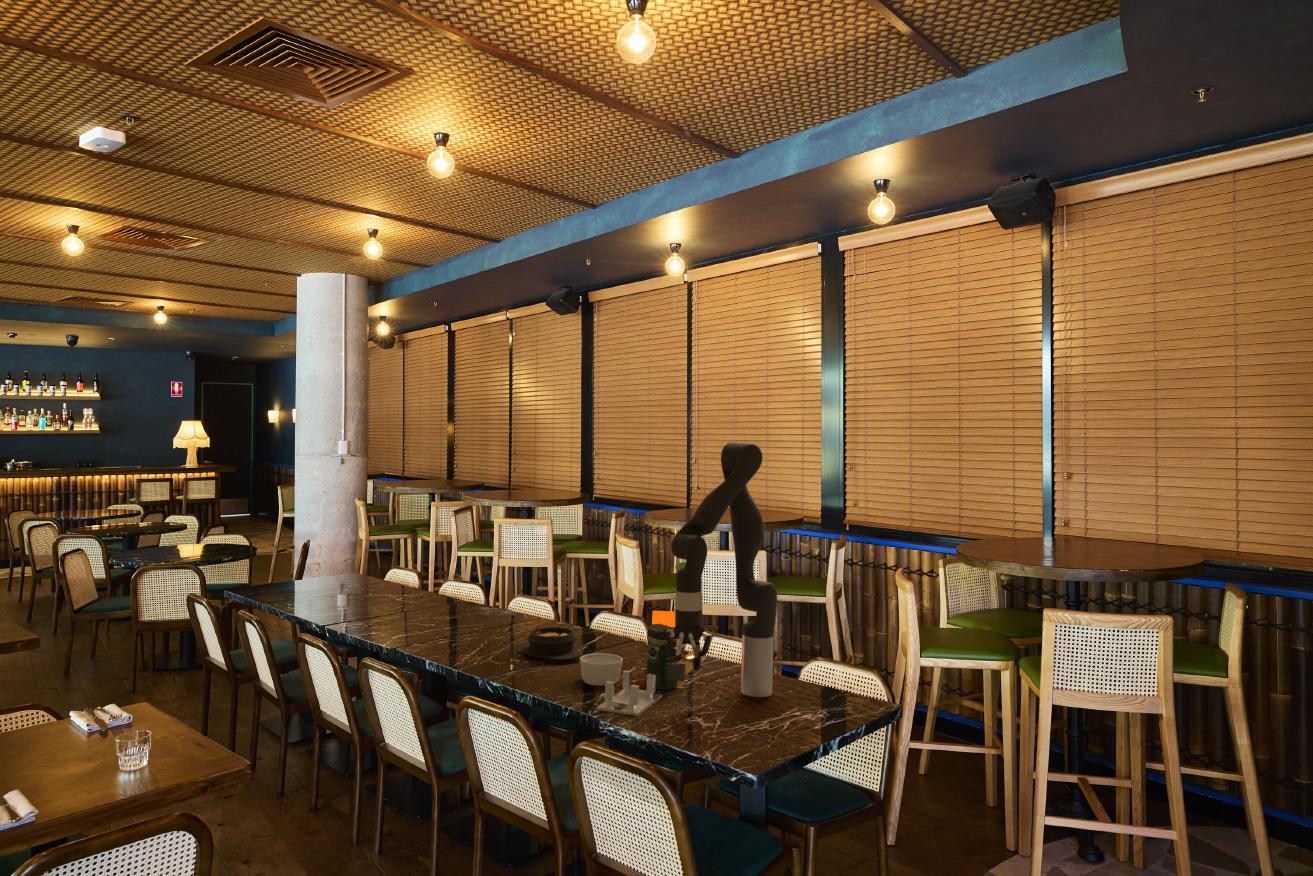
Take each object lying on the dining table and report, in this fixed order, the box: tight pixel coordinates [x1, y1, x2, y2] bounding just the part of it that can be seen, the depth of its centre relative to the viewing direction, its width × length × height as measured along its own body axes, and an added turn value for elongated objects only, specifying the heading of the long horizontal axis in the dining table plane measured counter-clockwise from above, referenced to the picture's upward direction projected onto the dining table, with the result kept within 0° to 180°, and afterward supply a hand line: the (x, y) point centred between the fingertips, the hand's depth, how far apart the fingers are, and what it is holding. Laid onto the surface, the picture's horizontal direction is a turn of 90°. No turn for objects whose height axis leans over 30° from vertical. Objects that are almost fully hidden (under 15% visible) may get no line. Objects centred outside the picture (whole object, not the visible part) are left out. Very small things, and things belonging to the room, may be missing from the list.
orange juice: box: [651, 610, 679, 644], centre depth 253 cm, size 8×9×20 cm
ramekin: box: [579, 652, 623, 687], centre depth 244 cm, size 13×13×7 cm
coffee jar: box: [645, 623, 678, 691], centre depth 240 cm, size 10×8×19 cm
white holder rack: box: [596, 670, 663, 717], centre depth 223 cm, size 18×12×7 cm, turn 158°
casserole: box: [521, 626, 584, 661], centre depth 272 cm, size 25×19×8 cm
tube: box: [669, 647, 707, 682], centre depth 216 cm, size 19×4×4 cm, turn 158°
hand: (688, 669), depth 217 cm, fingers closed on tube, 4 cm apart
